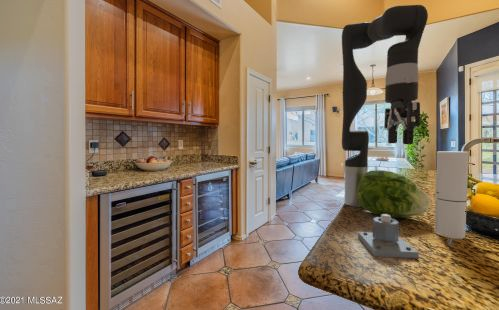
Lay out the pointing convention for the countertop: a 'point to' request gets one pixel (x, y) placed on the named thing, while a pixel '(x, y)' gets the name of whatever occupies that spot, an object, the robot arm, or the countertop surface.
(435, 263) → the countertop surface
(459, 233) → the cylindrical container
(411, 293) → the countertop surface
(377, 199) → the lettuce
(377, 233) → the collar
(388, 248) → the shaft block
